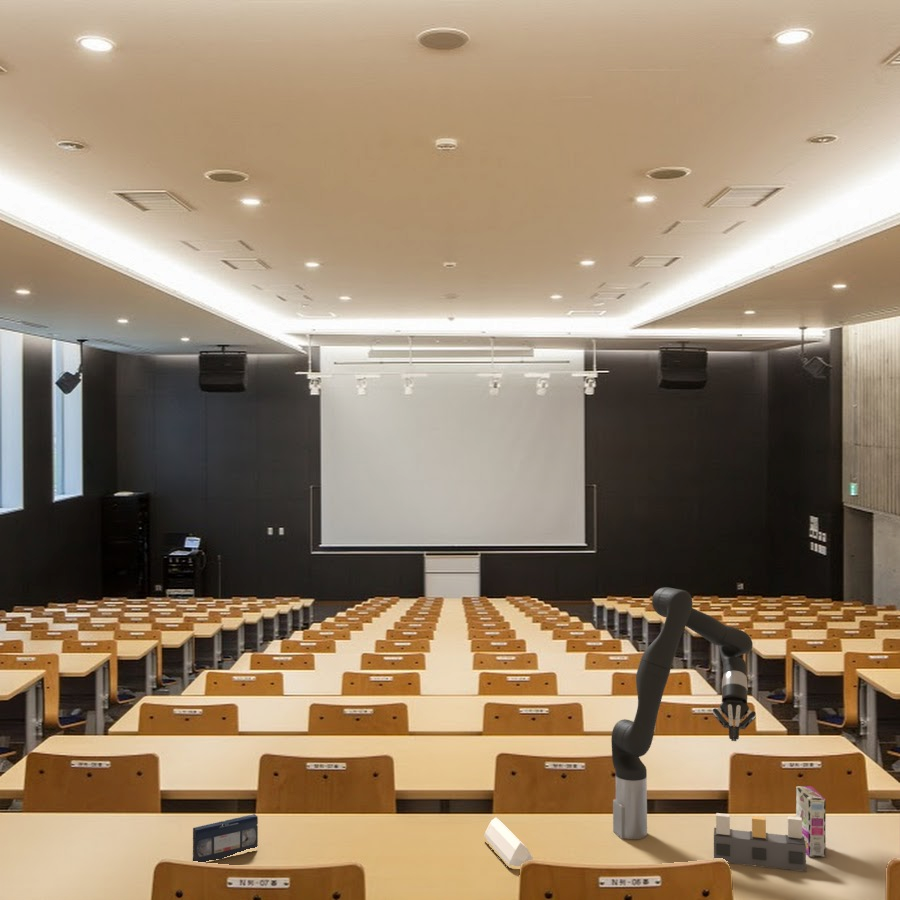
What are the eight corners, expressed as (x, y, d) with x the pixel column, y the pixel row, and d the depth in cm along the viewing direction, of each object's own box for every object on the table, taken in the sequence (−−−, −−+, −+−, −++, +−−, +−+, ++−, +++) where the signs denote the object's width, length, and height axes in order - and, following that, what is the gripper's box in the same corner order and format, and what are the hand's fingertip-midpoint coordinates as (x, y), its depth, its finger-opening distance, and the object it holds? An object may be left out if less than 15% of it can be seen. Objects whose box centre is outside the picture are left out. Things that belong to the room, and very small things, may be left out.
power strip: (713, 862, 261) (713, 835, 261) (714, 852, 267) (714, 827, 267) (806, 872, 254) (805, 845, 254) (804, 862, 260) (804, 836, 260)
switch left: (716, 833, 262) (716, 815, 262) (716, 831, 264) (716, 813, 264) (729, 835, 261) (729, 816, 261) (729, 832, 263) (729, 814, 263)
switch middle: (752, 836, 259) (751, 818, 260) (752, 834, 261) (751, 816, 261) (765, 838, 258) (765, 820, 258) (765, 835, 260) (765, 817, 260)
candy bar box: (827, 857, 263) (826, 798, 264) (809, 857, 264) (808, 798, 264) (812, 842, 275) (812, 785, 275) (795, 841, 275) (795, 785, 275)
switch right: (788, 837, 259) (787, 818, 259) (787, 834, 261) (787, 816, 261) (802, 838, 258) (801, 820, 258) (801, 835, 260) (801, 817, 260)
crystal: (475, 827, 277) (504, 860, 254) (495, 813, 279) (525, 843, 256) (487, 848, 278) (517, 882, 255) (506, 833, 280) (538, 865, 257)
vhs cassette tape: (195, 866, 260) (195, 830, 260) (191, 862, 262) (191, 826, 262) (258, 851, 269) (258, 816, 270) (255, 848, 272) (254, 813, 272)
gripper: (712, 681, 291) (710, 731, 279) (757, 684, 287) (757, 735, 275) (712, 694, 296) (711, 744, 284) (757, 697, 292) (757, 748, 280)
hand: (733, 739), depth 280 cm, fingers closed
